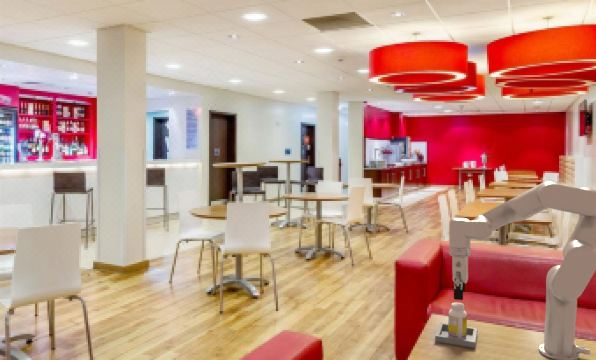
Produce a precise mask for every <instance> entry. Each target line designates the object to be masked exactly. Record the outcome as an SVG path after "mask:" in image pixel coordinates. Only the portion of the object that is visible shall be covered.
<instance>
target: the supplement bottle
mask: <svg viewBox="0 0 596 360" xmlns="http://www.w3.org/2000/svg"><path fill="white" fill-rule="evenodd" d="M447 324H448V335H449V337H454V338H460V339H465V338H466V335H467V327H468V313H467V311H465V304H464V303H462V302H458V301H457V302H452V303H451V308H450V309H449V311H448V323H447Z"/></svg>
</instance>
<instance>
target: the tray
mask: <svg viewBox="0 0 596 360" xmlns="http://www.w3.org/2000/svg"><path fill="white" fill-rule="evenodd" d="M434 337H435V339H434V343H437V344H444V345H450V346H456V347H461V348H467V349H472V350H473V349H476V345H477V344H476V343H477V338H478V327H471V326H467V335H466V338H465V339H460V338H454V337H449V335H448V323H446V322H439V325H438V328H437V330H436V333H435V336H434Z"/></svg>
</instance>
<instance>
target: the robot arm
mask: <svg viewBox="0 0 596 360" xmlns="http://www.w3.org/2000/svg"><path fill="white" fill-rule="evenodd" d="M547 209H553V210H557V211H560V212H566V213H570V214H571V213H572V214H575V215H578V220H577V223H576V225H575V227H574V230H573V232H572V233H571V234H570V236H569V238H568V240H567V242H566V243H565V244H564V246H563V248H562V257H563V259H562V262H561V264H557V265H554V266H552V267H551V268H550V269H549V270H548V272H547V274H546V278H545V279H546V281H545V286H546V287H545V289H546V291H545V292H546V293H545V295H546V296H545V316H544V318H545V319H544V335H543V337H544V338H543V343H541V344H539V346H538V351H539V352H540V353H541V354H542V355H543V356H545V357H547V358H549V359H552V360H579V359H580V354H583V355H587V356H589V355H591V349H590V348H586V346H584V345H578V344H576V323H577V311H578V298H579V297H581V296H582V294H583V292H584V290H586V288H587V286H588V284H589V283H590V281H591V279H592V277H593V276H594V273H595V271H596V189H594V188H592V187H588V186H586V187H580V188H579V187H574V186H569V185H564V184H560V183H558V182H556V181H553V180H547V181H544V182H541V183H540V184H538V185H536V186H534V187H532V188H530V189H528V190H527V191H524V192H522V193H520V194H518V195H517V196H515V197H513V198H511V199H510V200H507V201H504V202H503V203H501V204H499V205H497V206H495V207H493V208H491V209H489V210H487V211H485V212H483V213H482V214H479V215H478V216H476V217H474V219H473V220H470V219H468V218H466V217H453V218H450V220H449V224H448V229H449V230H448V232H449V235H448V236H449V237H448V239H449V241H448V243H449V244H448V246H449V248H448V249H449V251H448V252H449V256H451V257H452V263H451V264H452V266H451V268H452V281H453V282H454V283H453V285H454V287H453V299H454V300H456V301H457V300H458V301H463V300H464V293H466V284H467V283H468V281H469V257H470V256H471V239H472V240H476V241H487V240H488V239H490V238H491V236H492V234H493V232H494V231H496V230H498V229H499V228H501V227H504V226H505V225H508V224H511V223H516V222H517V223H518V222H523V221H526V220H527V219H530V218H532V217H533V216H534V215H537V214H539V213H541V212H543V211H545V210H547Z"/></svg>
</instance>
